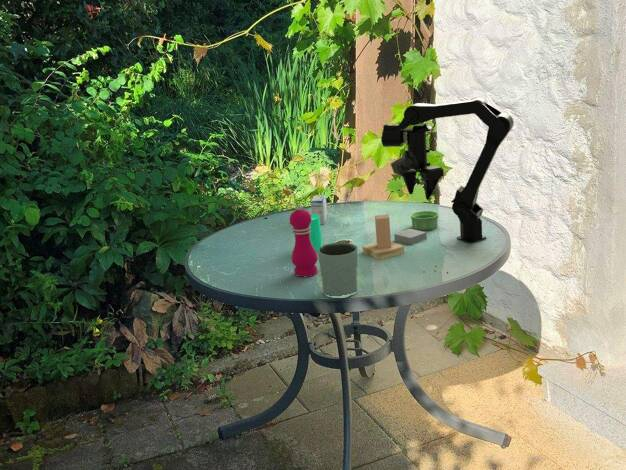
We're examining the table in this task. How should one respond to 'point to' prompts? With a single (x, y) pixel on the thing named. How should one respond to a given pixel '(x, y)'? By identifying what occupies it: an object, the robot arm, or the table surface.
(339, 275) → the plant pot
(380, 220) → the terracotta block
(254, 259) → the table surface
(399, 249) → the oak block
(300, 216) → the pepper mill
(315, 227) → the candle
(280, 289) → the table surface
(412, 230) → the slate block
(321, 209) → the medicine box
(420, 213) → the ramekin
